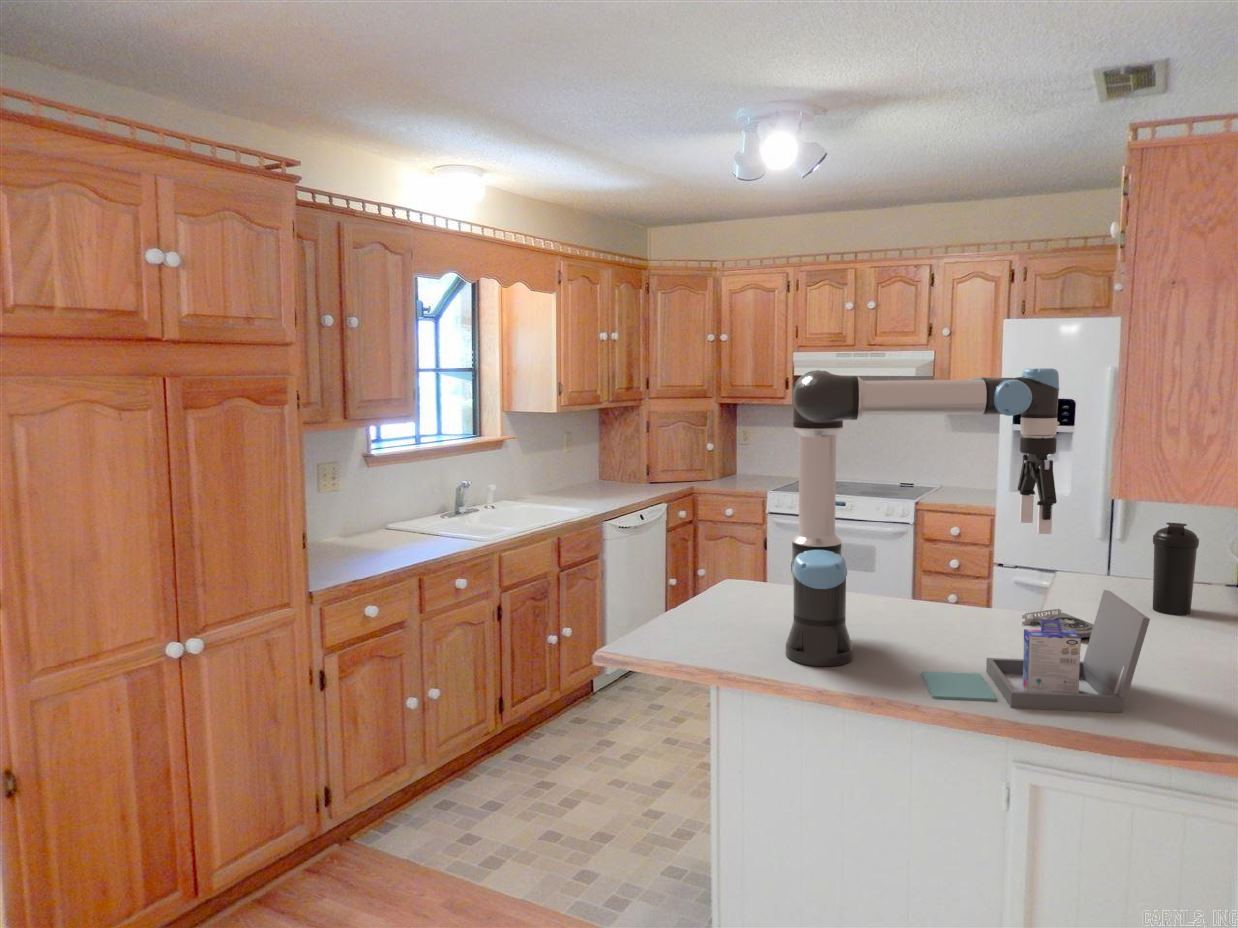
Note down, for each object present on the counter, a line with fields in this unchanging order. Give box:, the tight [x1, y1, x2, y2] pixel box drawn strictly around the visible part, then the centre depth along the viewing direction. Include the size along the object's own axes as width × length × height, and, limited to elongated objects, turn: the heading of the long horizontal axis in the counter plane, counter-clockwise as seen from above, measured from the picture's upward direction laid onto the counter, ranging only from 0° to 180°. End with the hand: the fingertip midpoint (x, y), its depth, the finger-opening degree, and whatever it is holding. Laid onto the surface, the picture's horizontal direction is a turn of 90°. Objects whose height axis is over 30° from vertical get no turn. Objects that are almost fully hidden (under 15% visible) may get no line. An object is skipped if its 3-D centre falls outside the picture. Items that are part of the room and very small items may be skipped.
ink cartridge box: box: [1022, 619, 1082, 694], centre depth 179 cm, size 10×6×14 cm, turn 78°
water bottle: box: [1152, 522, 1200, 616], centre depth 231 cm, size 10×10×23 cm
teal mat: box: [920, 670, 997, 702], centre depth 183 cm, size 12×14×1 cm
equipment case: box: [985, 589, 1151, 714], centre depth 178 cm, size 24×20×19 cm
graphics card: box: [1021, 608, 1094, 640], centre depth 217 cm, size 17×4×12 cm
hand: (1034, 528), depth 204 cm, fingers open, 13 cm apart
